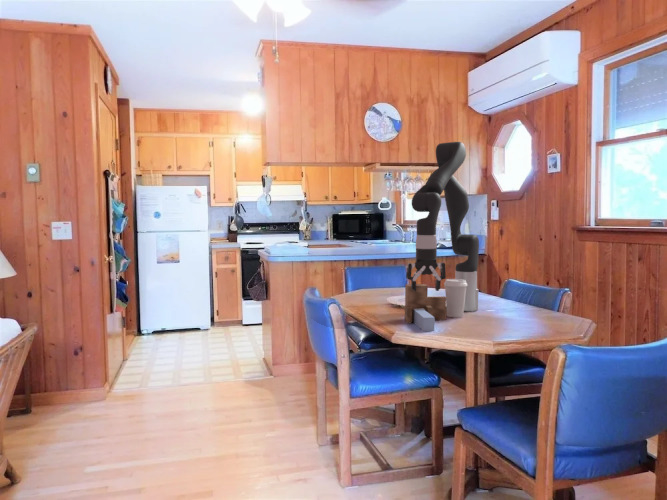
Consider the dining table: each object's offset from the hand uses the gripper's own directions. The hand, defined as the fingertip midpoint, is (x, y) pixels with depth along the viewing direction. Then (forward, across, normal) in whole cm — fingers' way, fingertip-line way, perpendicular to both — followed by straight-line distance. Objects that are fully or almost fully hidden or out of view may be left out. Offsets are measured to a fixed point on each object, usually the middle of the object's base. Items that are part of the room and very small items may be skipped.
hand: (425, 290), depth 184 cm
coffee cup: (+14, +18, +20) cm, 30 cm away
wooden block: (+14, +3, +12) cm, 19 cm away
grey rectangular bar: (+14, 0, +3) cm, 14 cm away
